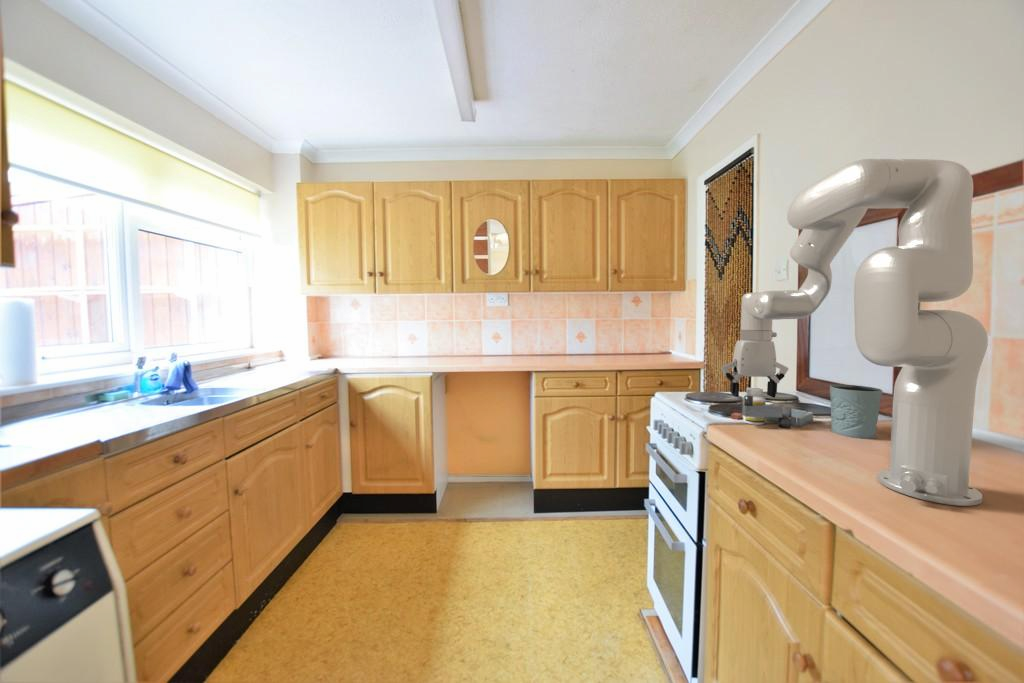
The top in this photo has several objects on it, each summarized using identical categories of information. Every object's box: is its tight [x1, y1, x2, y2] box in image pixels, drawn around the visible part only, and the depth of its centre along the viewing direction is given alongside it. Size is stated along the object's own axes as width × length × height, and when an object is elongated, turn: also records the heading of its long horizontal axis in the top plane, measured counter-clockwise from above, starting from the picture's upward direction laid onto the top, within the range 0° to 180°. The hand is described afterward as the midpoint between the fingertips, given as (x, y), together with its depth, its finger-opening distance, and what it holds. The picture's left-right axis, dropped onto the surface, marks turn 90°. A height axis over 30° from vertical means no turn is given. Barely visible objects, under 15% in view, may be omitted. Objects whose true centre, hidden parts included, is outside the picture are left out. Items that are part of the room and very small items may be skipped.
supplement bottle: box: [742, 387, 766, 426], centre depth 110 cm, size 5×5×10 cm
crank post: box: [730, 412, 792, 430], centre depth 110 cm, size 3×15×3 cm, turn 37°
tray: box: [765, 408, 814, 428], centre depth 112 cm, size 10×10×2 cm
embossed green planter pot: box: [829, 384, 883, 440], centre depth 99 cm, size 10×10×12 cm
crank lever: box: [741, 394, 793, 418], centre depth 106 cm, size 12×3×6 cm, turn 82°
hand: (752, 395), depth 111 cm, fingers open, 9 cm apart
